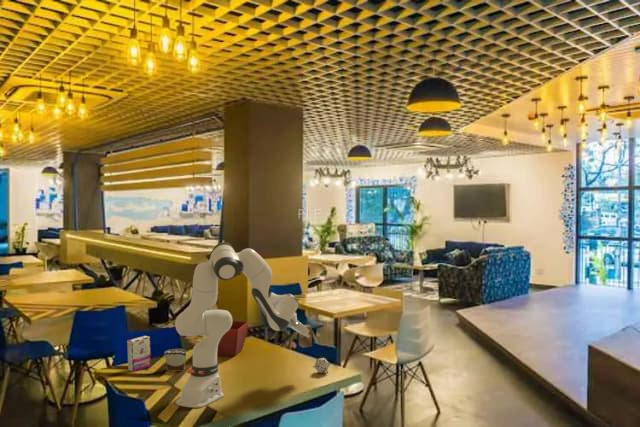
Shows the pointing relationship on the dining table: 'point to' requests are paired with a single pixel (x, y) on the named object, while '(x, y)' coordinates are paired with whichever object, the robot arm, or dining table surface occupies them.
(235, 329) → the plant pot
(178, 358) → the food container
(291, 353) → the dining table surface
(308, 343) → the walnut block
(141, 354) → the candy bar box
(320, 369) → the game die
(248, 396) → the dining table surface
